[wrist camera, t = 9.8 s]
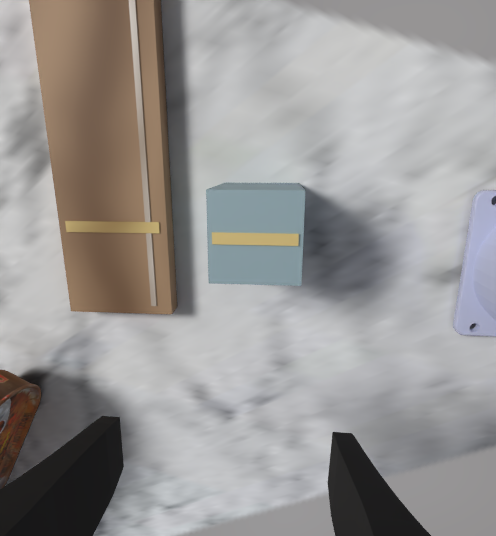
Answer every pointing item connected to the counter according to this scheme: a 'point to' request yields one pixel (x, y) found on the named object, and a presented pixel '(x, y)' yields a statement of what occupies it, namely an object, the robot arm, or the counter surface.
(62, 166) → the walnut board
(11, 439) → the tin
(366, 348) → the counter surface
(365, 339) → the counter surface
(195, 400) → the counter surface
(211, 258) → the block
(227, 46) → the counter surface
